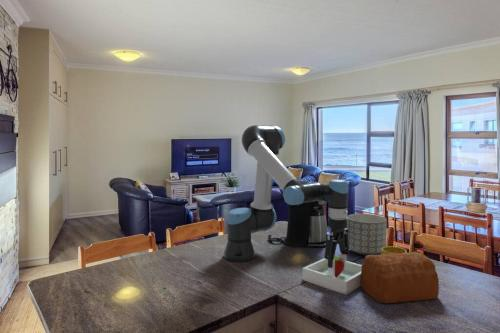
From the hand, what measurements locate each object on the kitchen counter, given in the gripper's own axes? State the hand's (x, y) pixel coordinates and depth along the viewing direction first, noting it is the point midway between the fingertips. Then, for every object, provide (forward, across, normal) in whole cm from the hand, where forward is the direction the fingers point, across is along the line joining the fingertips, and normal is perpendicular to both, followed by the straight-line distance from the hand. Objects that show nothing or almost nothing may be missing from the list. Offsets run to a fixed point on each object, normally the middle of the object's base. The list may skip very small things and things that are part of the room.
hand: (336, 272), depth 145 cm
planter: (+3, +39, +7) cm, 40 cm away
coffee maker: (+4, +34, +44) cm, 55 cm away
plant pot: (+3, +25, -13) cm, 28 cm away
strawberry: (+2, 0, 0) cm, 2 cm away
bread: (+4, +6, -23) cm, 24 cm away
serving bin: (+3, 0, 0) cm, 3 cm away
